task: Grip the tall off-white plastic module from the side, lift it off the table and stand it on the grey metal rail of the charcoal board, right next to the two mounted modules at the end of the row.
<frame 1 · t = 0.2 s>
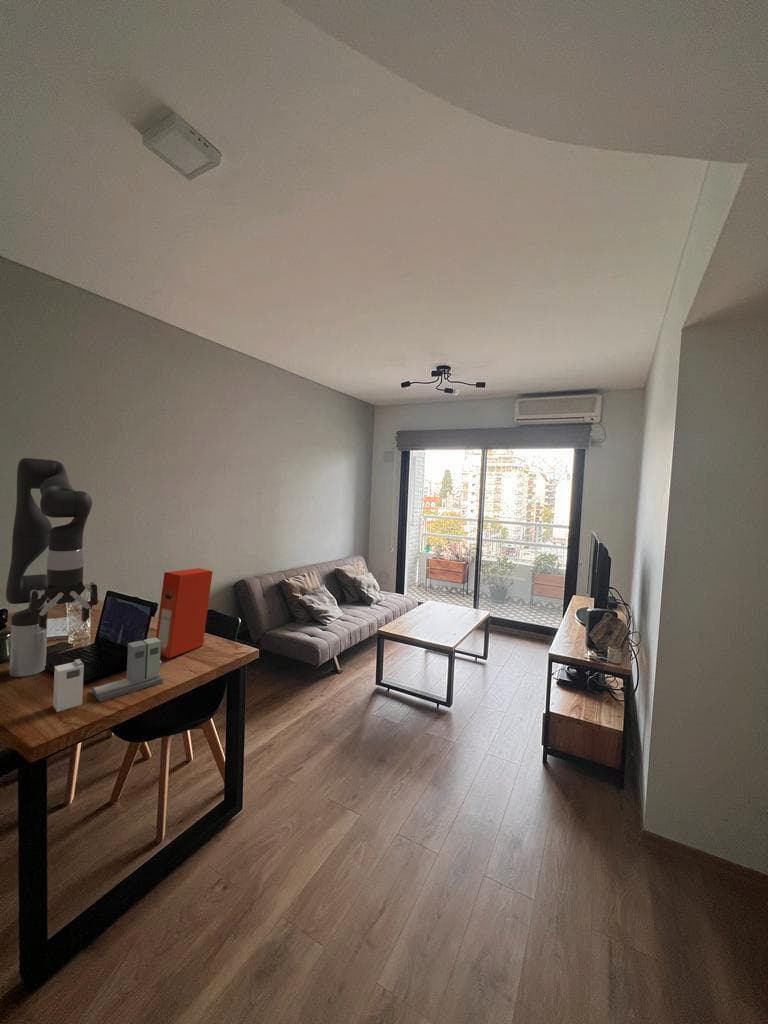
hand: (64, 624, 106), 29 cm above the table, tool pointing down, fingers open, 8 cm apart
external hard drive: (146, 664, 146), point 1 cm above the table, touching file binder
file binder: (179, 650, 160), point 1 cm above the table, touching external hard drive
module: (67, 705, 118), on the table
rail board: (128, 687, 130), on the table
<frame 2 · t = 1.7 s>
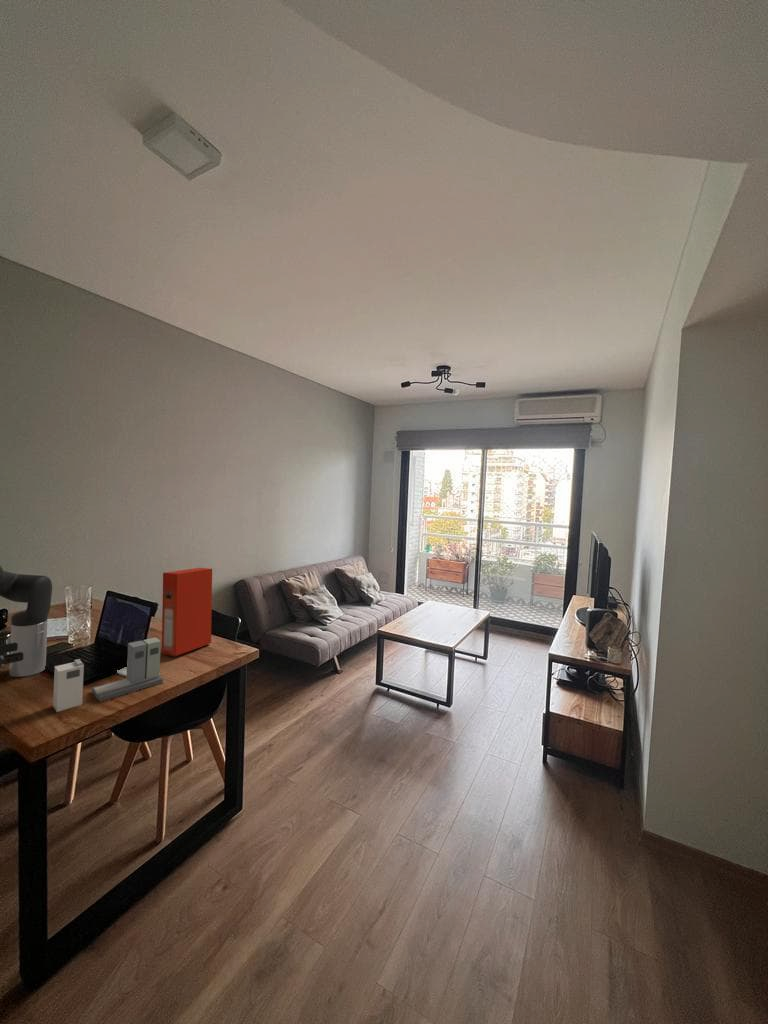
hand: (20, 650, 108), 20 cm above the table, tool horizontal, fingers open, 8 cm apart
external hard drive: (132, 673, 142), on the table
file binder: (187, 648, 162), on the table
everything else where it was.
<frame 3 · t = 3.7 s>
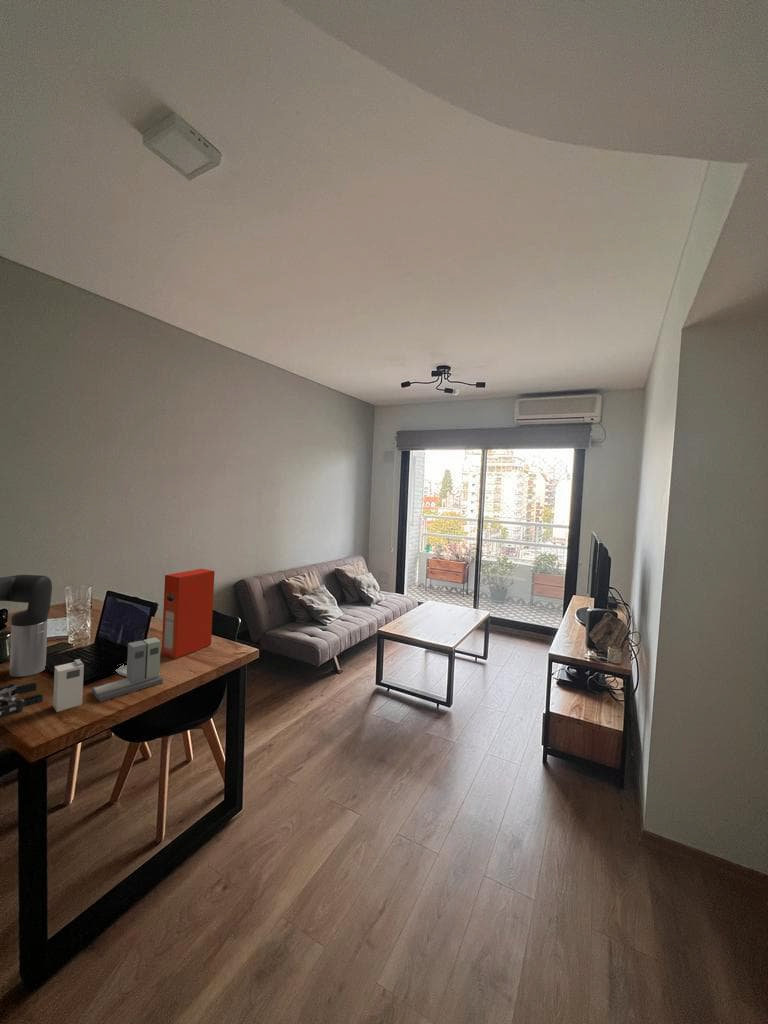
hand: (39, 691, 113), 6 cm above the table, tool horizontal, fingers open, 8 cm apart
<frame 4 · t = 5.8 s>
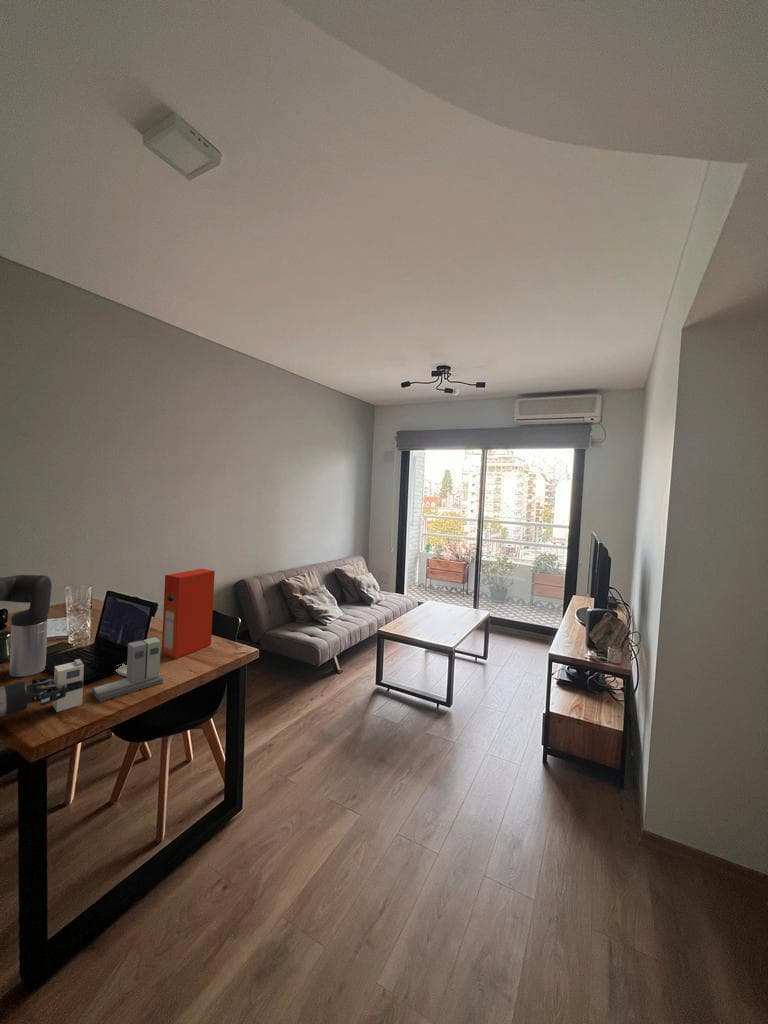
hand: (79, 681, 120), 7 cm above the table, tool horizontal, fingers closed on module, 4 cm apart
module: (67, 705, 118), on the table, touching gripper
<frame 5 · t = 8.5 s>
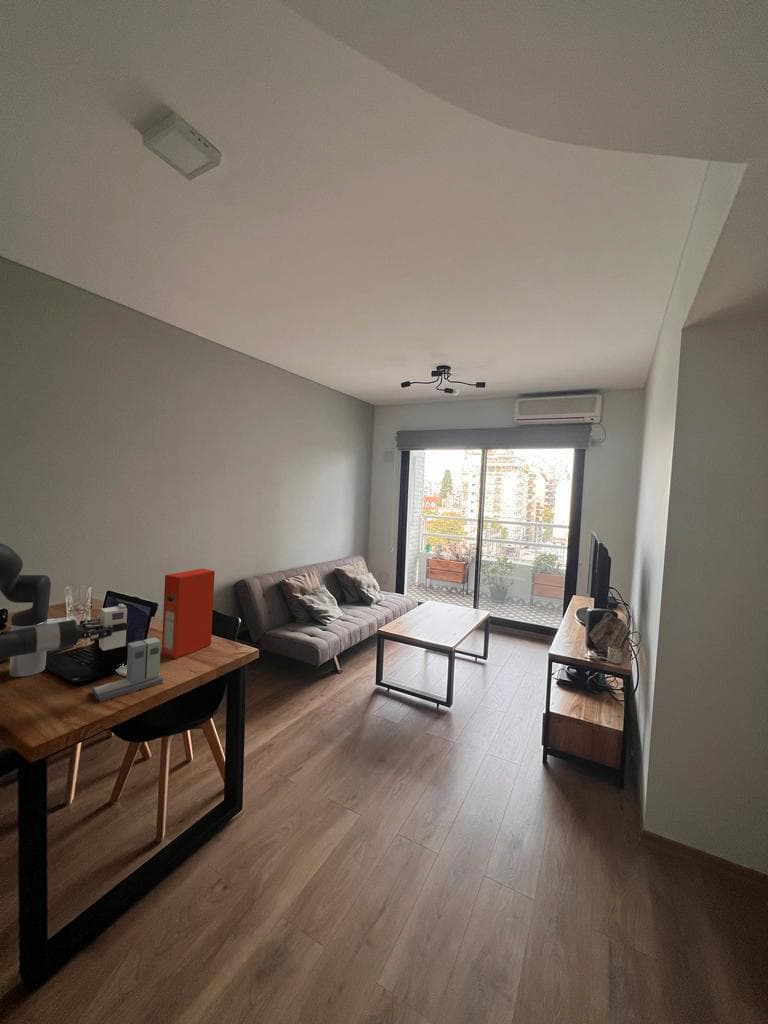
hand: (123, 624, 127), 22 cm above the table, tool horizontal, fingers closed on module, 4 cm apart
module: (112, 646, 125), point 15 cm above the table, touching gripper
when the fingers open (10 cm above the table, at t = 11.3 s): module drops 1 cm, resting on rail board.
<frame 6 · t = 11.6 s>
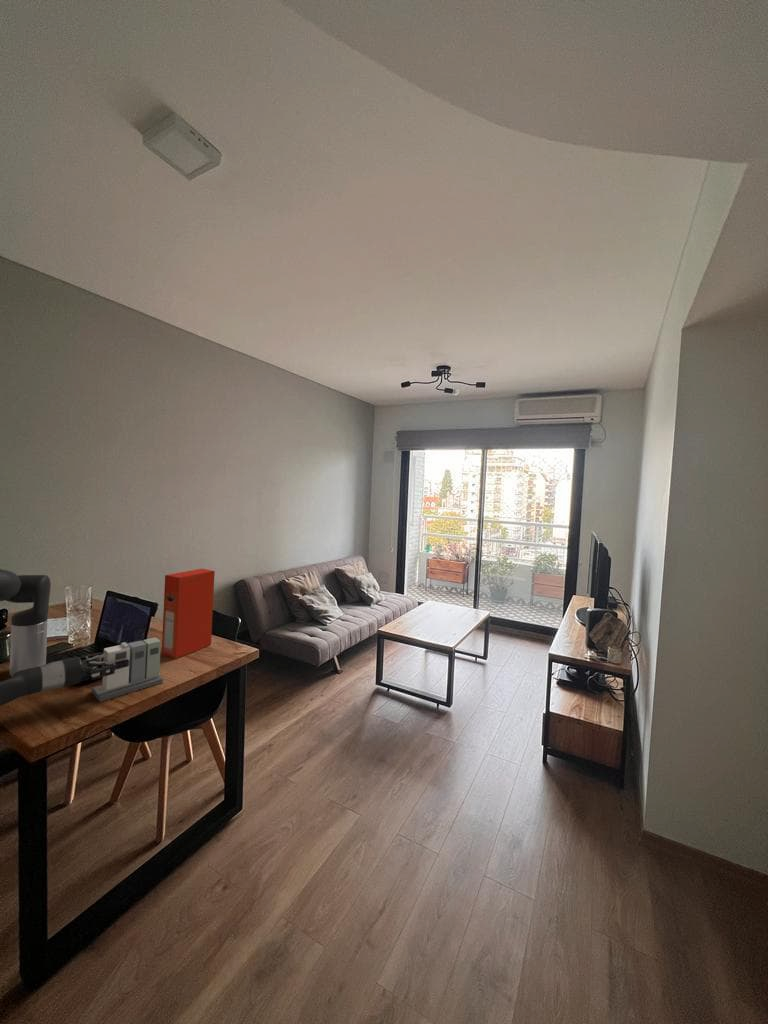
hand: (124, 658, 129), 10 cm above the table, tool horizontal, fingers open, 7 cm apart
module: (115, 684, 127), point 2 cm above the table, touching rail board
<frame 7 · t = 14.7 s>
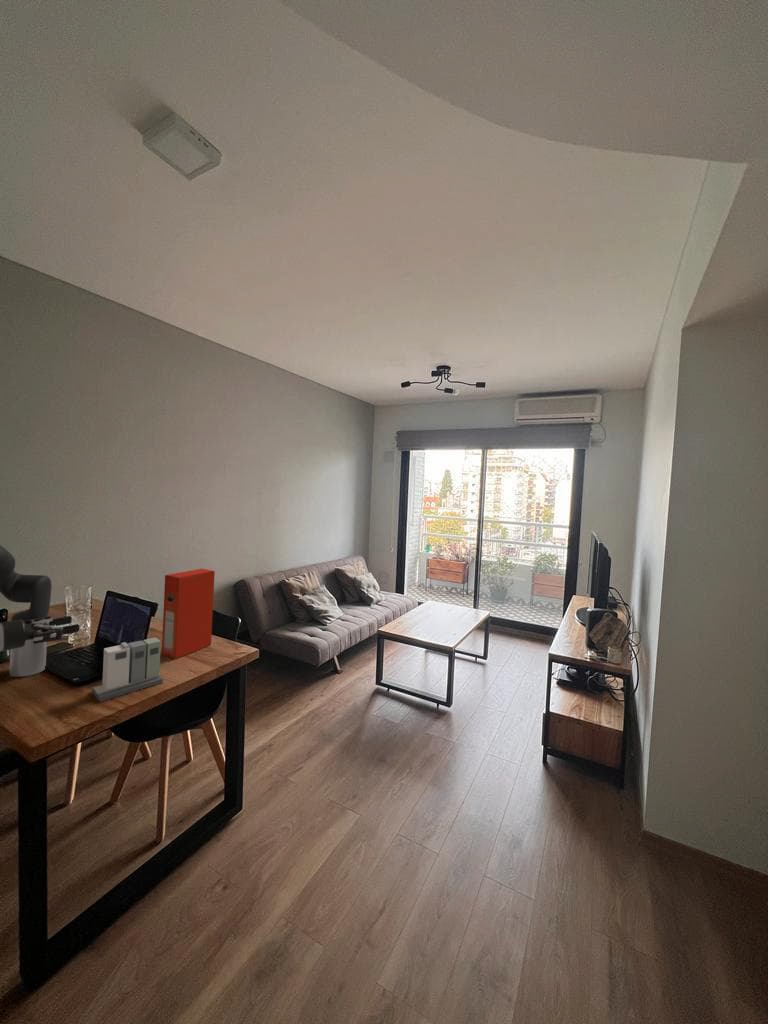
hand: (75, 623, 118), 25 cm above the table, tool horizontal, fingers open, 8 cm apart
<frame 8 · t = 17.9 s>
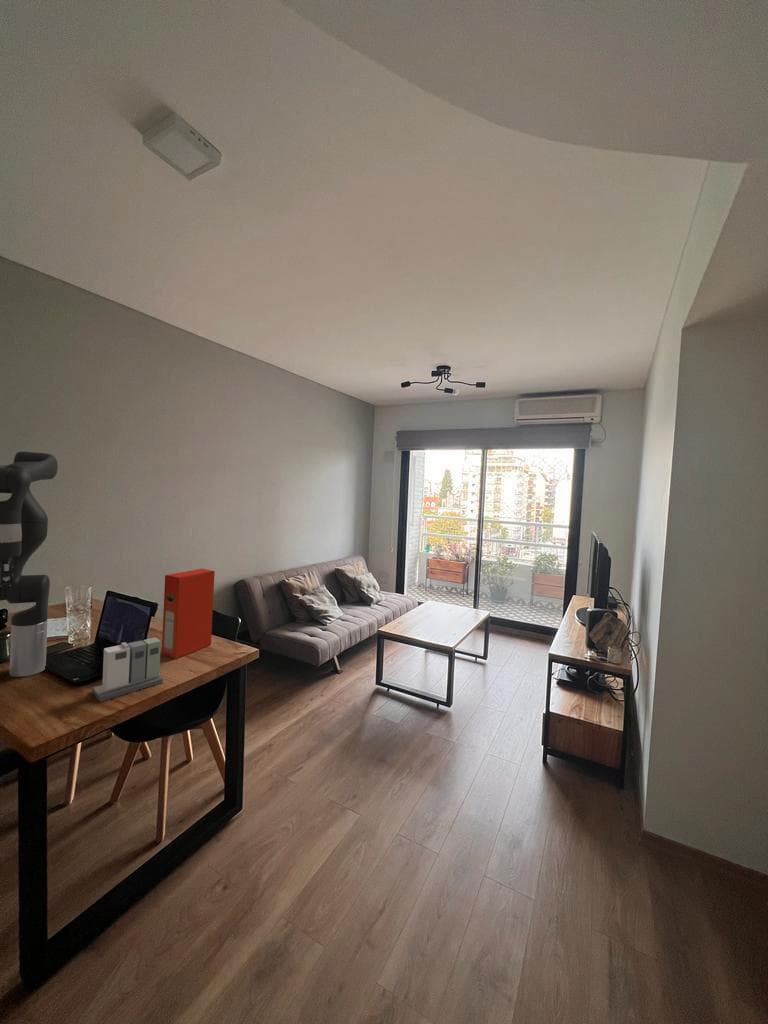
hand: (1, 596, 111), 33 cm above the table, tool pointing down, fingers open, 8 cm apart
at the end: module 0.1 cm from the target spot on the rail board, point 2.2 cm above the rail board's base; module tilted 0°; the gripper is holding nothing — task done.
